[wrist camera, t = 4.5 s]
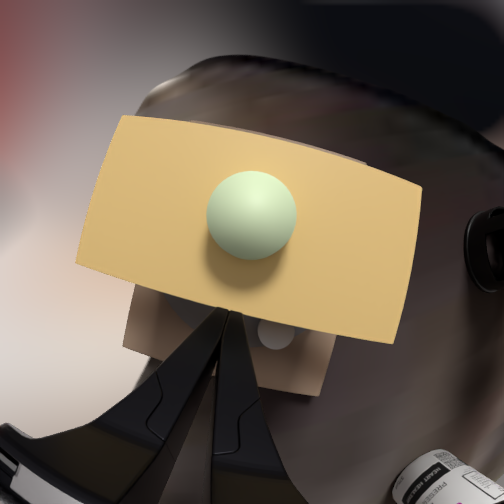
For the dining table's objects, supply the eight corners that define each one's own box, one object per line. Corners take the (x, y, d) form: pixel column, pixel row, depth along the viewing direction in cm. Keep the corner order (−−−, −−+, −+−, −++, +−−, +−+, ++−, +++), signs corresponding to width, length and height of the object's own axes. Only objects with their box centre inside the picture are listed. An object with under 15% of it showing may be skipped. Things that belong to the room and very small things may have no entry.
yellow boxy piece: (335, 311, 18) (417, 352, 8) (145, 263, 18) (50, 258, 8) (355, 224, 18) (445, 184, 8) (169, 178, 18) (102, 103, 8)
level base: (314, 390, 21) (327, 407, 17) (129, 343, 21) (108, 352, 17) (360, 169, 24) (377, 150, 20) (192, 128, 24) (185, 103, 20)
